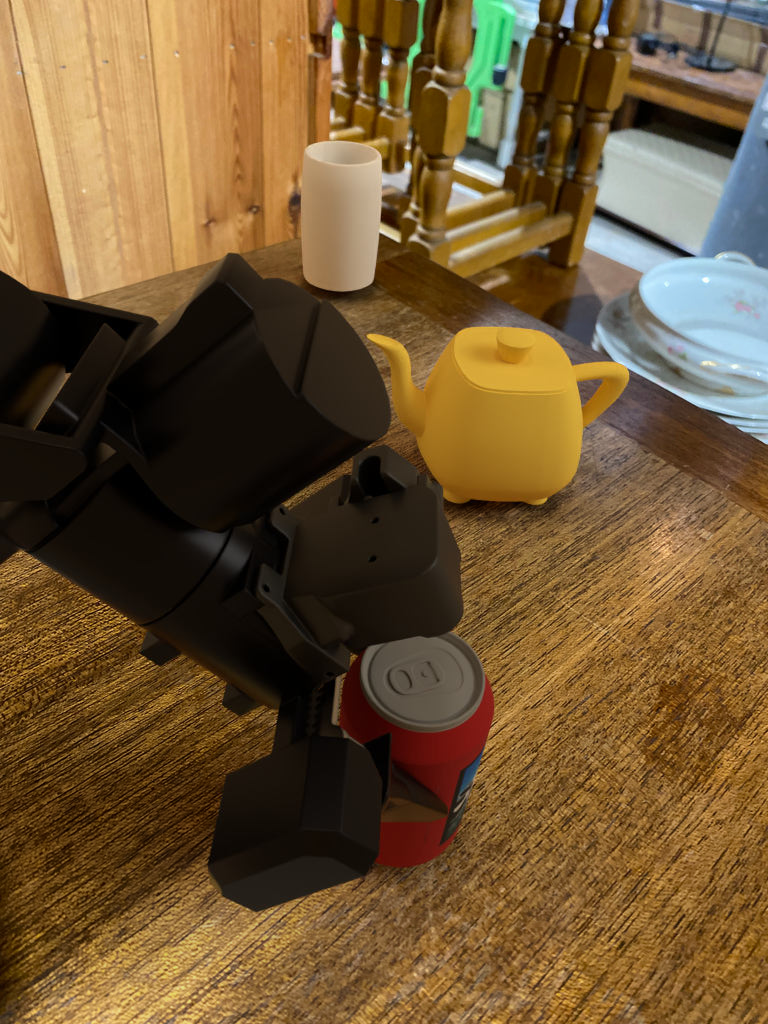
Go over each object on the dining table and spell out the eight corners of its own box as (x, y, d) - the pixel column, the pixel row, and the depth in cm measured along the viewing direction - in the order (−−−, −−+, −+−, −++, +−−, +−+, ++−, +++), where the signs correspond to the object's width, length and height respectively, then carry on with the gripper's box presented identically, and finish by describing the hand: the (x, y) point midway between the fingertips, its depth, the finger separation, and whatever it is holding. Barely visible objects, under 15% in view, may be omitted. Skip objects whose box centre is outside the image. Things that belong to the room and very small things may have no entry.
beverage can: (482, 849, 40) (531, 715, 32) (358, 895, 38) (377, 763, 30) (428, 738, 44) (459, 597, 36) (315, 773, 42) (322, 631, 34)
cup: (329, 310, 83) (333, 172, 74) (285, 279, 88) (283, 146, 78) (391, 291, 87) (402, 159, 78) (346, 263, 92) (351, 135, 82)
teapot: (357, 418, 68) (364, 286, 60) (579, 425, 70) (616, 297, 62) (360, 522, 58) (370, 381, 50) (619, 527, 60) (670, 391, 52)
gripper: (312, 690, 18) (635, 913, 26) (360, 315, 32) (561, 531, 40) (44, 824, 23) (380, 978, 31) (186, 449, 37) (394, 619, 45)
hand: (438, 744), depth 37 cm, fingers closed on beverage can, 7 cm apart
